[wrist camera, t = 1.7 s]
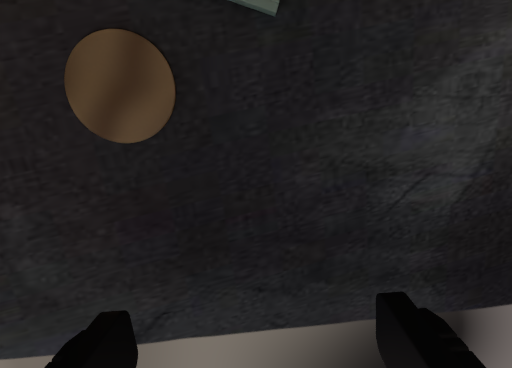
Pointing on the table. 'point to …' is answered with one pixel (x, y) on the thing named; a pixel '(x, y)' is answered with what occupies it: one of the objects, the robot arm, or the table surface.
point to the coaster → (120, 85)
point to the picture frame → (260, 5)
